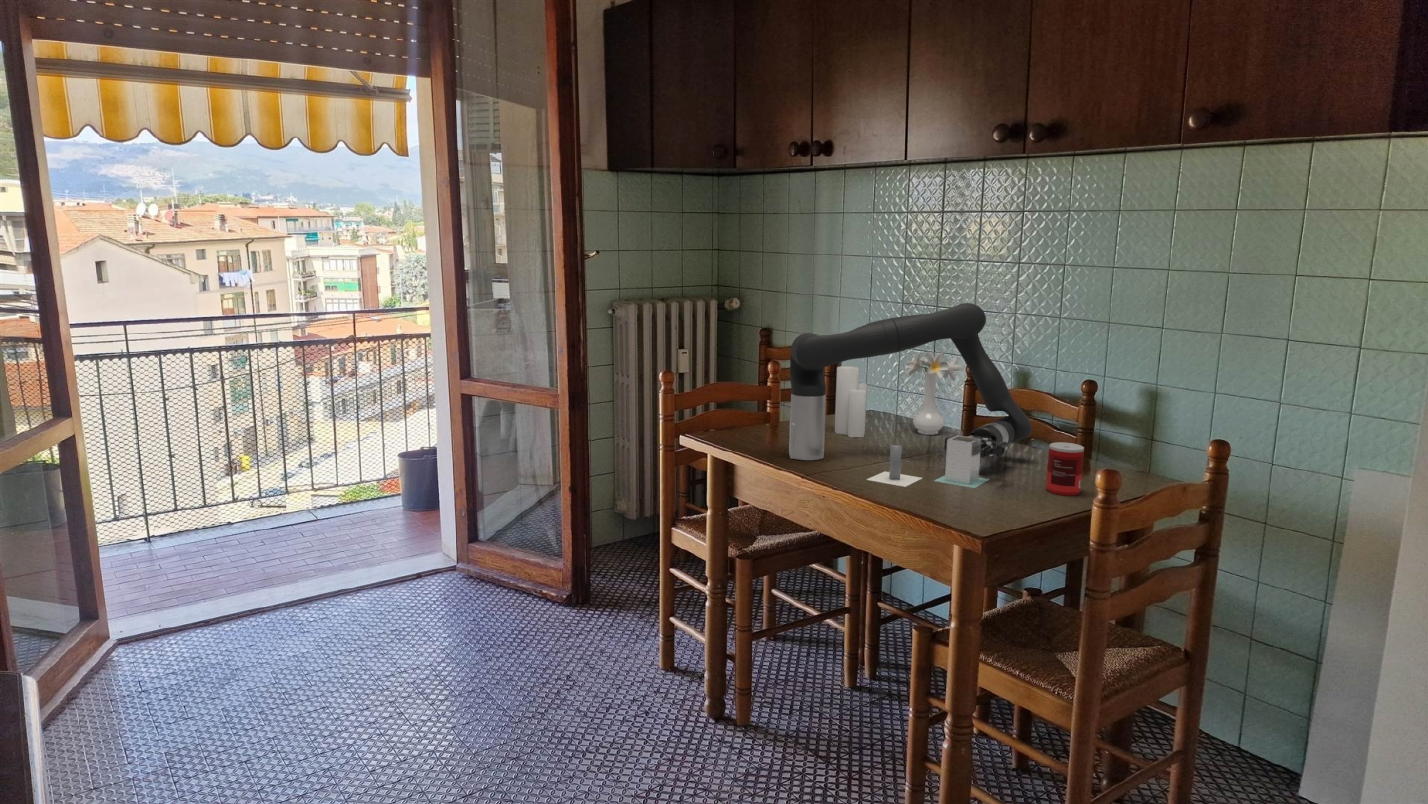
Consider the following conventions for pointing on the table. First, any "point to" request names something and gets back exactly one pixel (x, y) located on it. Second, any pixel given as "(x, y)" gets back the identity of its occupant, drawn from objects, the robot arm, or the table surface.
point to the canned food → (1064, 468)
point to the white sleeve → (963, 459)
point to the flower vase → (931, 389)
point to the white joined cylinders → (850, 403)
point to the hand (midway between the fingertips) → (964, 450)
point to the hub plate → (972, 485)
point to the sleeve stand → (895, 471)
